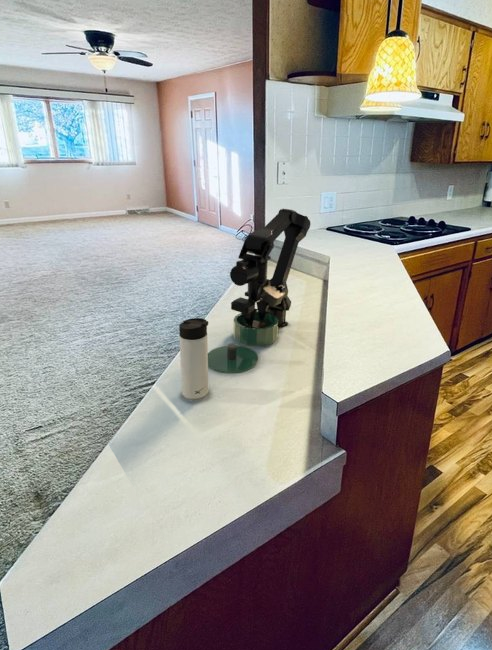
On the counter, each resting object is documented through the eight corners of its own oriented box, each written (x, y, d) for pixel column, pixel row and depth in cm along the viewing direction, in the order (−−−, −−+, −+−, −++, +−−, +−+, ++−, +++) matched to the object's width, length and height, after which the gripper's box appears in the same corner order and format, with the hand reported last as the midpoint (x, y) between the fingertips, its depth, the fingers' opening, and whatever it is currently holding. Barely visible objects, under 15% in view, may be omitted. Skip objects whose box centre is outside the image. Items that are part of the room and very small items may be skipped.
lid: (239, 344, 126) (239, 329, 124) (268, 364, 116) (269, 348, 114) (195, 357, 117) (195, 341, 115) (223, 381, 107) (223, 364, 105)
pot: (260, 325, 139) (260, 307, 137) (286, 340, 130) (287, 322, 127) (225, 335, 131) (225, 316, 129) (250, 352, 121) (250, 333, 119)
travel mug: (203, 404, 97) (201, 328, 89) (177, 400, 98) (173, 324, 90) (213, 390, 102) (212, 317, 95) (188, 386, 104) (185, 313, 96)
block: (253, 332, 133) (254, 319, 131) (265, 336, 131) (265, 323, 129) (245, 337, 129) (246, 324, 128) (257, 341, 127) (257, 328, 126)
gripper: (262, 291, 111) (260, 342, 117) (296, 274, 127) (293, 320, 132) (229, 282, 116) (229, 331, 122) (265, 267, 132) (264, 311, 137)
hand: (256, 323), depth 128 cm, fingers open, 6 cm apart
